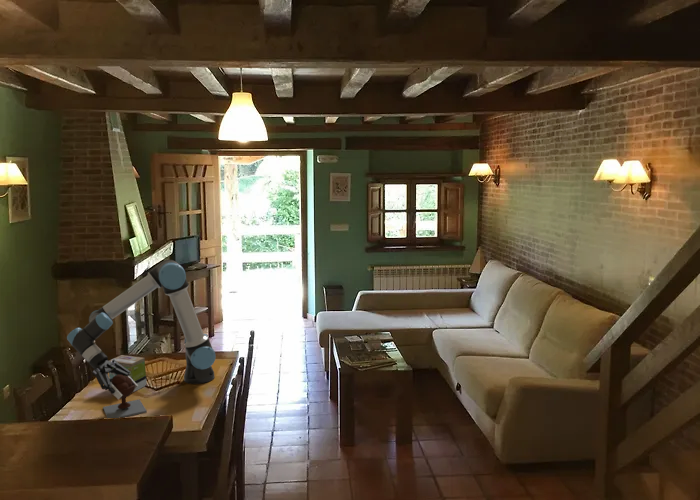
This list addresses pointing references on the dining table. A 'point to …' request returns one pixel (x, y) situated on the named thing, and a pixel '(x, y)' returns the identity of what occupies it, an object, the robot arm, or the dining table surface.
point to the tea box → (132, 369)
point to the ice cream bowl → (123, 388)
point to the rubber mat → (124, 410)
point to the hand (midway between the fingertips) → (128, 392)
